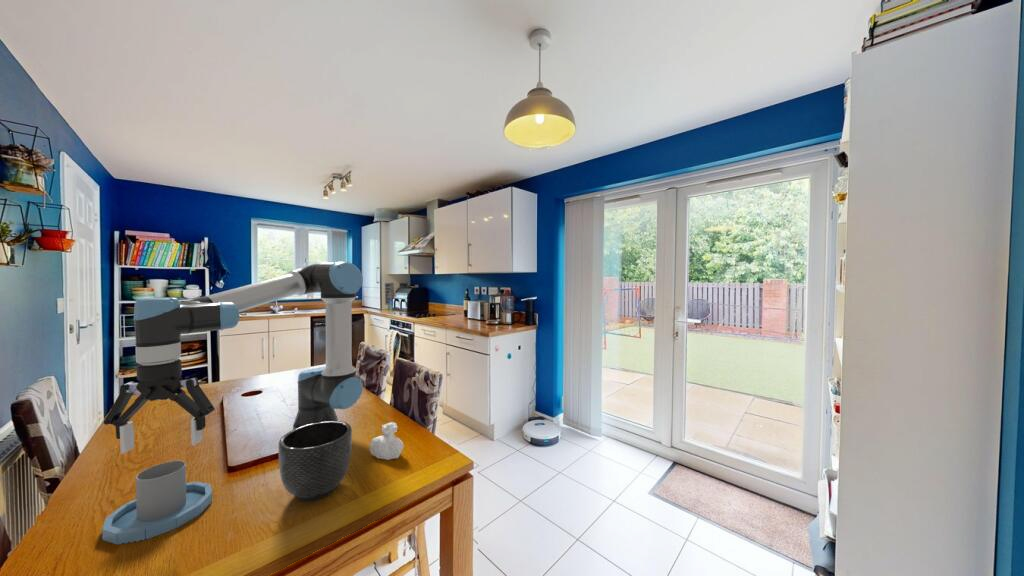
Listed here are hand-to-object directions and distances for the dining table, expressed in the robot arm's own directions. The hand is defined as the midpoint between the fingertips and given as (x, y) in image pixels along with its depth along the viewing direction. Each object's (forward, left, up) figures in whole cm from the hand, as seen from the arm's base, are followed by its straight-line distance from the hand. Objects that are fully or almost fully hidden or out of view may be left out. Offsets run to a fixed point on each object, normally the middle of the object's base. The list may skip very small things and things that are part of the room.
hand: (163, 446), depth 81 cm
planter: (-34, 0, -17) cm, 38 cm away
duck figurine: (-51, -15, -17) cm, 55 cm away
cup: (0, 0, -16) cm, 16 cm away
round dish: (0, 0, -17) cm, 17 cm away
